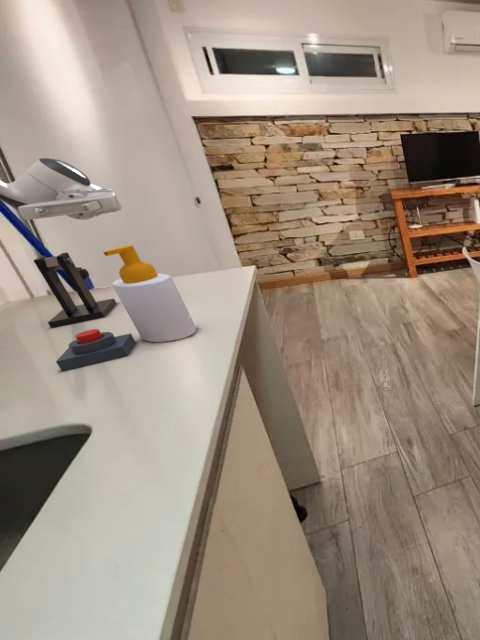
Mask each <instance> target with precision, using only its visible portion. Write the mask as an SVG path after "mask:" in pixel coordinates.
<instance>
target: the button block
mask: <svg viewBox="0 0 480 640" xmlns="http://www.w3.org/2000/svg"><path fill="white" fill-rule="evenodd" d="M100 333H101V334H102V336H103V337H102V338H100V339H98V340H95V341H92V342H88V343H83V344H79V342H78V340H77V339H74V340H72V341H70V343H68V345H67V346H68V347H67V349H66V350H65V351H64V352H63V353H62V354H61V355H60V356H59V358H57V360H56V361H55V363H56V364H57V366H58V368H59V369H60V371H61V372H64V371H69V370H73V369H77V368H81V367H86V366H90V365H94V364H99V363H103V362H107V361H111V360H116V359H120V358H123V357H127V356H128V355H129V354H130V352H131V351H132V349H133V347H134V346H135V344H136V340H135V338H134V336H133V334H132V333H125V334H122V335H117V336H115V335H114V334H113V332H110V331H102V332H101V331H100Z"/></svg>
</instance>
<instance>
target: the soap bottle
mask: <svg viewBox="0 0 480 640" xmlns="http://www.w3.org/2000/svg"><path fill="white" fill-rule="evenodd" d="M102 253H103V255H104V256H106V257H107V256H113V255H117V254H118V255H119V256H120V259H121V260H122V263H123V265H122V266H121V267H120V268H119V272H118V274H119V277H120V278H119V279H117V280H116V279H115V280H114V281H113V282H112V284H111V285H112V287H113V289H114V291H115V293H116V295H117V296H118V298H119V300H120V302H121V304H122V305H123V307H124V309H125V312H126V313H127V314H128V317H129V318H130V320H131V322H132V324H133V326H134V327H135V329H136V331H137V333H138V335H139V336H140V338H141V339H142V340H143V341H146V342H152V343H162V342H172V341H177V340H182V339H185V338H188V337H190V336H192V335H194V334H195V333H196V331H197V326H196V325H195V322H194V321H193V318H192V317H191V314H190V312H189V310H188V308H187V306H186V304H185V301H184V300H183V298H182V296H181V293H180V292H179V290H178V287H177V286H176V283H175V281H174V279H173V278H172V277H171V276H170V275H169V274H166V273H158V272H157V270H156V268H155V267H154V265H153V264H151V263H150V262H144V261H142V260H141V258H140V257H139V255H138V253H137V250H136V249H135V247H134V245H133V244H127V245H122V246H118V247H115V248H114V247H113V248H111V249H107V250H104V251H102Z"/></svg>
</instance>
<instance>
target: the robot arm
mask: <svg viewBox="0 0 480 640" xmlns="http://www.w3.org/2000/svg"><path fill="white" fill-rule="evenodd" d="M0 201H2V202H3V203H5V204H7V205H8V206H10V207H11V208H13V209H14V210H16V211H18V212H19V213H20V215H21V216H22V218H23V219H24V220H27V221H28V220H30V221H32V220H39V219H46V218H47V219H48V218H54V217H62V216H66V217H69V218H71V219H75V220H80V221H81V220H82V221H84V220H85V221H86V220H90V219H93V218H94V217H96V218H97V217H99V216H101V215H104V214H105V215H106V214H109V213H114V212H115V213H116V212H119V211H122V205H121V203H120V200H119V199H118V197H117V196H116V194H115V192H114V191H113V189H112V188H103V187H100V186H99V185H96V184H93V183H91V180H90V178H89V177H88V176H87V175H86V174H85V173H84V172H82V171H81V170H79V169H78V168H77V167H75V166H74V165H71V164H70V163H68V162H65V161H63V160H60V159H55V158H47V157H41V158H38V159H37V160H36V161H35V162H34V163H33V164H32V165H31V166H29V168H27V169H26V171H24V172H23V174H21V175H20V176H19V177H18V178H17V179H15V180H14V181H11V182H4V181H2V180H0Z"/></svg>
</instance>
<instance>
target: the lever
mask: <svg viewBox="0 0 480 640" xmlns="http://www.w3.org/2000/svg"><path fill="white" fill-rule="evenodd" d="M57 256H58V255H56V256H49V257H47V258H44V260H45V263H46V265H47V267H48V268H50V269H52V270H55V271H57V270H62V271H64V270H63V268H62V266H61V265H60V263H59V261H58V259H57V258H56V257H57ZM76 268H77V270H78V271H79V273H80V275H81V277H82V278H83V280H84V281H86V280H88V278H90V272H89V271H88V270H87V269H86V268H83V267H80V266H77V267H76Z"/></svg>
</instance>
